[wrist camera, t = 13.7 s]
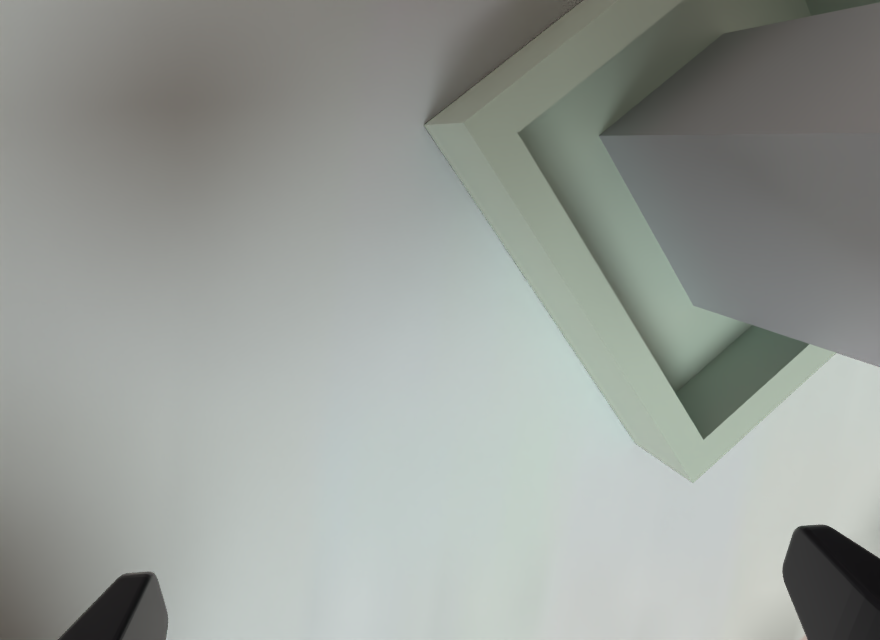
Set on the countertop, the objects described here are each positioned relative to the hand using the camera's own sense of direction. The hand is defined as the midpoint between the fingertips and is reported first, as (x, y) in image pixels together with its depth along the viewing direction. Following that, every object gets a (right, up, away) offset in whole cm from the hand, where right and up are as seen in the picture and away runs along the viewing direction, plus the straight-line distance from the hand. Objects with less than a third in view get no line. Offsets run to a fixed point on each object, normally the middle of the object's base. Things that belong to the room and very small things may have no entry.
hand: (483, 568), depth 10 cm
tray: (+8, +8, +12) cm, 17 cm away
